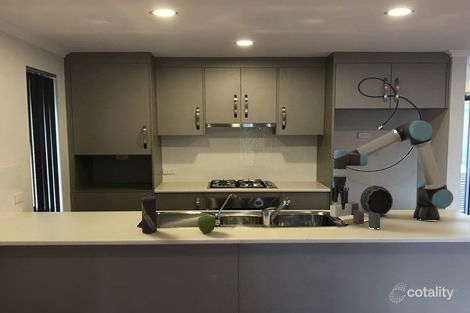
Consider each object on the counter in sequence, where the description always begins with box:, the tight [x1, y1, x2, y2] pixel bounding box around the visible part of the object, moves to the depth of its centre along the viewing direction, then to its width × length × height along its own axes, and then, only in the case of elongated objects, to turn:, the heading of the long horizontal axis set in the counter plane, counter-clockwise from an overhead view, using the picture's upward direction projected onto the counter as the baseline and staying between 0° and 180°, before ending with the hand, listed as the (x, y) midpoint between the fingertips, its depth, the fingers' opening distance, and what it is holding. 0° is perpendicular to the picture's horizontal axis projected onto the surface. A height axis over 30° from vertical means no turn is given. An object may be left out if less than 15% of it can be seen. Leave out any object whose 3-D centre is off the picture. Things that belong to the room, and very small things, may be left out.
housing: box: [352, 208, 381, 229], centre depth 216 cm, size 4×17×9 cm, turn 27°
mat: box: [333, 217, 353, 225], centre depth 227 cm, size 20×9×1 cm, turn 117°
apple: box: [197, 214, 217, 234], centre depth 204 cm, size 11×10×10 cm
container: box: [140, 195, 158, 234], centre depth 206 cm, size 9×9×20 cm
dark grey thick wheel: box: [359, 184, 394, 217], centre depth 242 cm, size 11×20×20 cm, turn 96°
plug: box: [329, 201, 360, 218], centre depth 224 cm, size 18×6×7 cm, turn 117°
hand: (339, 213), depth 222 cm, fingers closed on plug, 4 cm apart
